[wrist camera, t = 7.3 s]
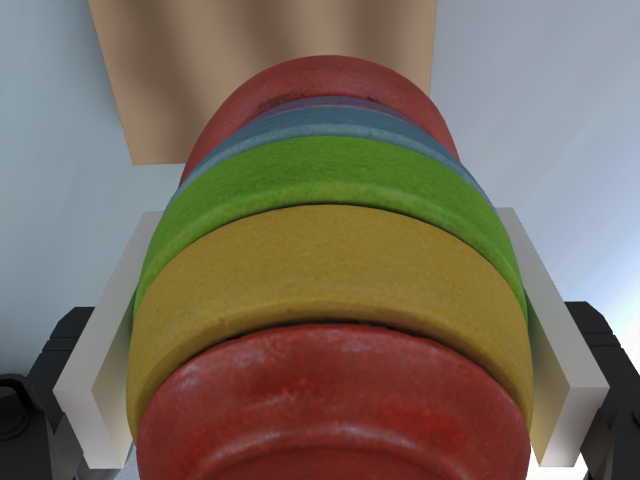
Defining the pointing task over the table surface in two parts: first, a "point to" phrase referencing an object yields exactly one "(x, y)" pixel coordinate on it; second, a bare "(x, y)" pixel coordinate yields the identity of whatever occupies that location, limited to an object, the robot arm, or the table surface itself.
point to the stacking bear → (329, 295)
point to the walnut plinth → (238, 55)
